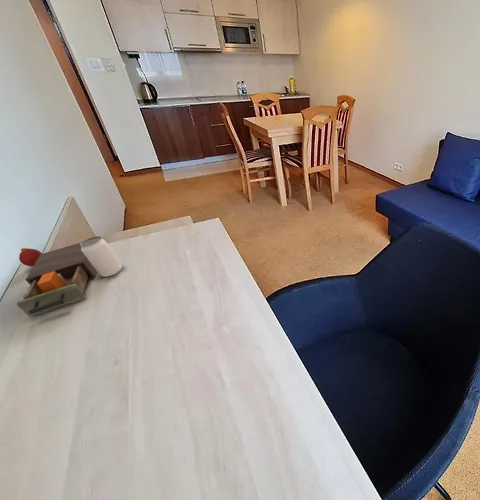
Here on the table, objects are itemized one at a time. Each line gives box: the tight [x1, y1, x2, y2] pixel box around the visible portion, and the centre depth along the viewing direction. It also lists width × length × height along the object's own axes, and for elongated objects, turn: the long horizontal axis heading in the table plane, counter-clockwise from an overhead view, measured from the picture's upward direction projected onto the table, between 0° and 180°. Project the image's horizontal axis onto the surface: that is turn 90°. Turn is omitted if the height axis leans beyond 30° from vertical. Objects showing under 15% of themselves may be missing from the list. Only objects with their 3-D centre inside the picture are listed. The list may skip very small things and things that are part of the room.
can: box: [80, 236, 123, 278], centre depth 96 cm, size 6×6×12 cm
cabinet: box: [25, 241, 98, 286], centre depth 99 cm, size 16×15×7 cm
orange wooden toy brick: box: [37, 271, 68, 293], centre depth 89 cm, size 3×7×6 cm, turn 28°
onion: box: [18, 247, 43, 267], centre depth 105 cm, size 6×6×8 cm
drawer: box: [16, 265, 89, 317], centre depth 89 cm, size 19×13×5 cm
